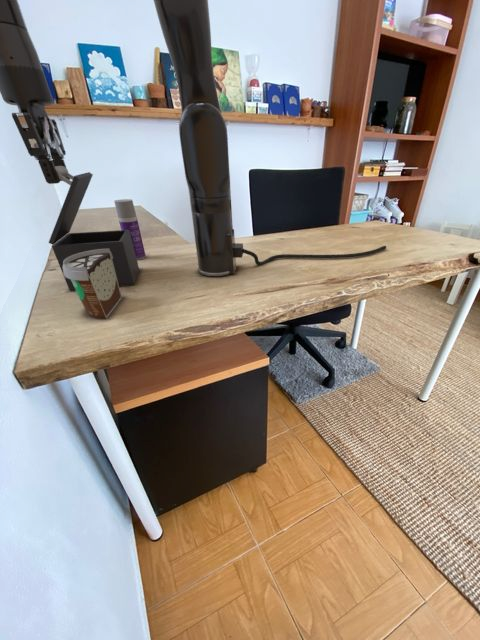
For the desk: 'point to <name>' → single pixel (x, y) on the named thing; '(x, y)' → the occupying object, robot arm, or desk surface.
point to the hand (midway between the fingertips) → (59, 181)
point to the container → (130, 225)
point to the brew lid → (69, 202)
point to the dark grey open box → (111, 240)
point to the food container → (94, 281)
